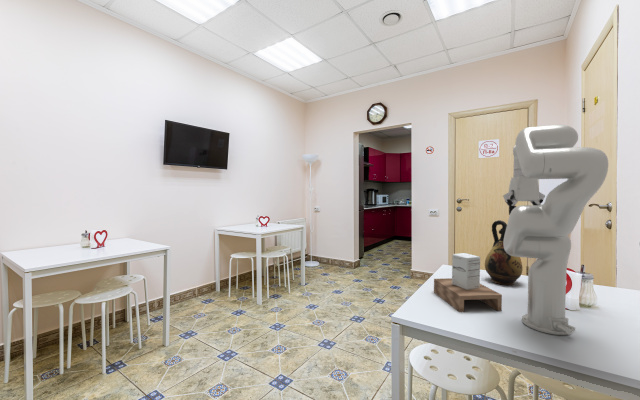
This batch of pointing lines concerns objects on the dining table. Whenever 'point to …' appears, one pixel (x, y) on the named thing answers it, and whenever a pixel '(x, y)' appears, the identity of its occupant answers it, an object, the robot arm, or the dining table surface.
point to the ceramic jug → (502, 260)
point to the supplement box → (466, 271)
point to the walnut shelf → (466, 294)
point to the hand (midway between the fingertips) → (523, 215)
